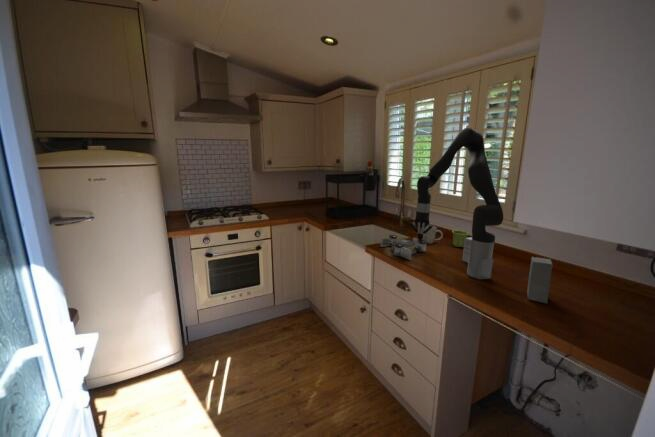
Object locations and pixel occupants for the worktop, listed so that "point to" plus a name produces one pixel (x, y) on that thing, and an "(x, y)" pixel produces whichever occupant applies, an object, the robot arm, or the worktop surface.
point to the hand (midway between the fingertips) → (420, 239)
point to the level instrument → (406, 245)
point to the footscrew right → (420, 245)
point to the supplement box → (466, 249)
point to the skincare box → (539, 279)
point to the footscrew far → (388, 241)
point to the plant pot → (459, 238)
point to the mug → (431, 234)
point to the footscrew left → (402, 251)
